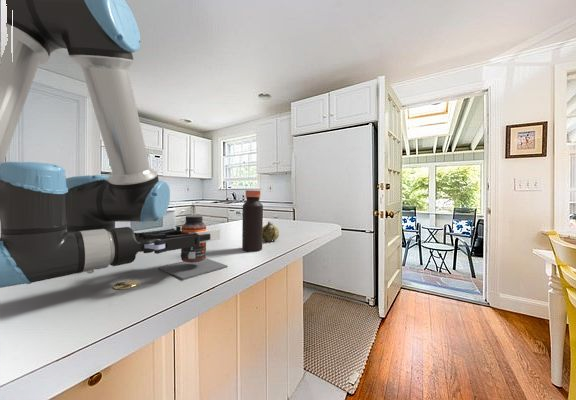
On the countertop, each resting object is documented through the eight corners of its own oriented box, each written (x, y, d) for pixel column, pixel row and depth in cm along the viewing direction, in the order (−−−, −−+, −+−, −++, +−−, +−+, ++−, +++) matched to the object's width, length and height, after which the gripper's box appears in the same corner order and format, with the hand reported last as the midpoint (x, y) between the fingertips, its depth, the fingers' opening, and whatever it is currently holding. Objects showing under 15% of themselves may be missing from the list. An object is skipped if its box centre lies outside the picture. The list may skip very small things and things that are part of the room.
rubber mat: (159, 268, 60) (159, 266, 60) (202, 258, 70) (202, 256, 70) (182, 280, 53) (182, 278, 53) (227, 267, 62) (227, 265, 62)
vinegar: (238, 249, 81) (238, 190, 80) (253, 245, 86) (253, 190, 85) (251, 253, 76) (252, 190, 76) (266, 249, 82) (267, 190, 81)
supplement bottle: (197, 264, 58) (197, 217, 57) (175, 262, 59) (175, 216, 58) (210, 257, 64) (210, 215, 63) (190, 255, 65) (190, 214, 64)
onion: (283, 240, 96) (284, 221, 95) (269, 244, 90) (269, 222, 89) (270, 238, 101) (270, 219, 100) (255, 240, 95) (256, 220, 94)
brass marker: (110, 285, 49) (110, 284, 49) (134, 279, 53) (134, 278, 53) (117, 291, 47) (117, 290, 47) (142, 284, 50) (142, 283, 50)
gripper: (95, 257, 53) (193, 241, 71) (125, 278, 41) (233, 252, 59) (95, 223, 53) (193, 216, 71) (125, 235, 41) (233, 222, 59)
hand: (211, 232), depth 65 cm, fingers closed on supplement bottle, 6 cm apart
